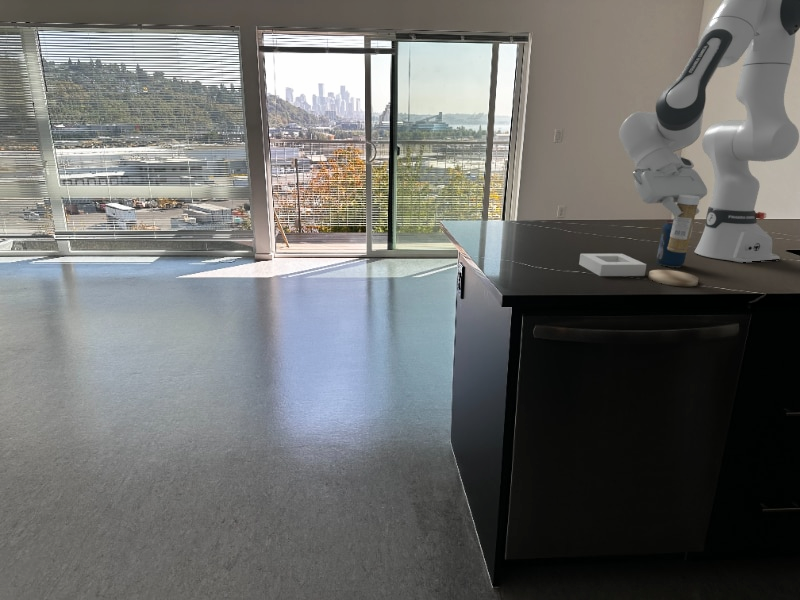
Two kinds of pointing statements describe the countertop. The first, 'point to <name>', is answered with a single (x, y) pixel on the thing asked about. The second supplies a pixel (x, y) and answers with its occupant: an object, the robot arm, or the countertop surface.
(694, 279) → the disc
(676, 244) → the sprinkles bottle
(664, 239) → the soda can
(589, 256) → the collar
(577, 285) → the countertop surface
